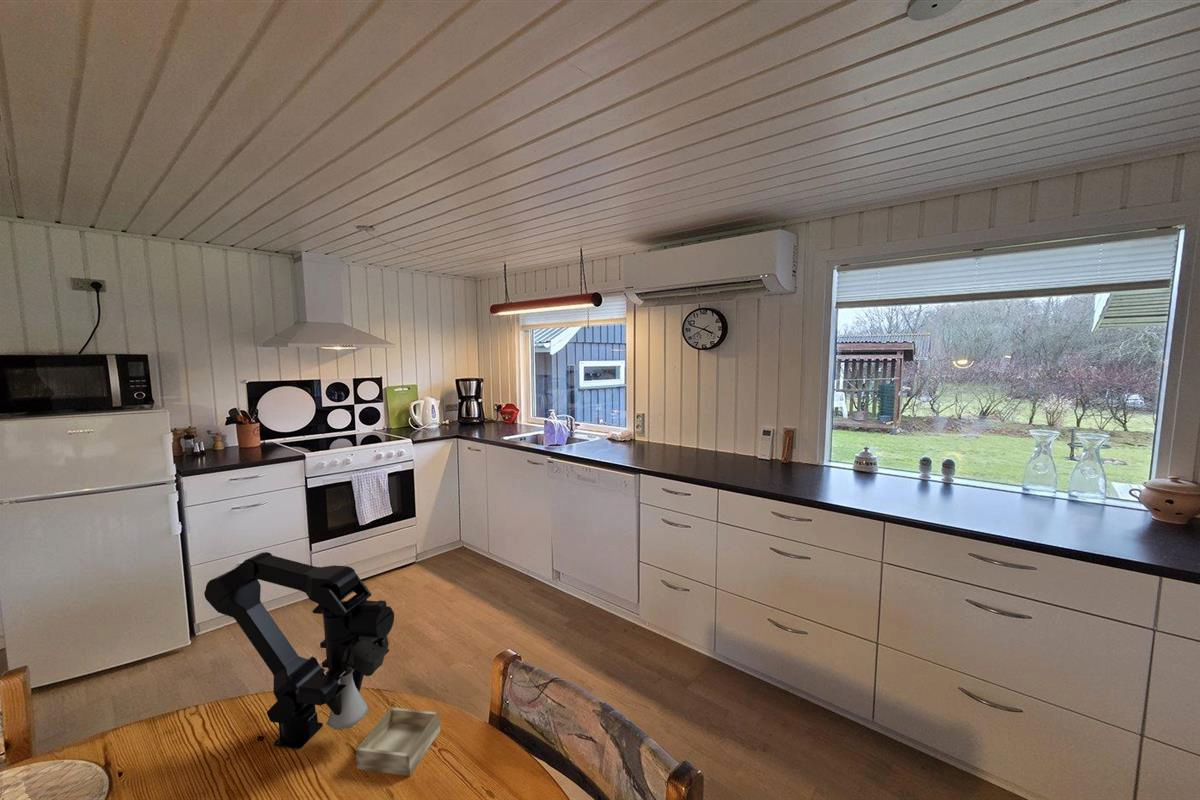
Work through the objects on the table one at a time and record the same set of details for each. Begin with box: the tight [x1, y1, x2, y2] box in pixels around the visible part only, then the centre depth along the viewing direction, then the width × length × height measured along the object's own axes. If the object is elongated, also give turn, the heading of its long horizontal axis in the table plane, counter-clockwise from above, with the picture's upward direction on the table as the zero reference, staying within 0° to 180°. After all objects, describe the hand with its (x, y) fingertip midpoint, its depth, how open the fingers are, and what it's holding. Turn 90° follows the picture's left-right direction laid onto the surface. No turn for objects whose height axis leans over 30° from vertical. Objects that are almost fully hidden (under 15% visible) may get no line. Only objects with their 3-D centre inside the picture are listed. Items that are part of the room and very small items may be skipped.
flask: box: [326, 667, 370, 731], centre depth 97 cm, size 7×7×10 cm
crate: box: [355, 706, 441, 777], centre depth 96 cm, size 11×11×4 cm
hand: (347, 704), depth 98 cm, fingers closed on flask, 5 cm apart
